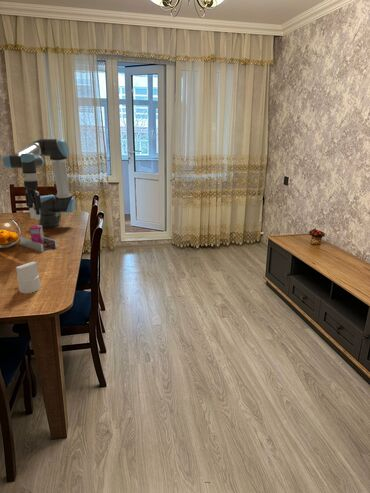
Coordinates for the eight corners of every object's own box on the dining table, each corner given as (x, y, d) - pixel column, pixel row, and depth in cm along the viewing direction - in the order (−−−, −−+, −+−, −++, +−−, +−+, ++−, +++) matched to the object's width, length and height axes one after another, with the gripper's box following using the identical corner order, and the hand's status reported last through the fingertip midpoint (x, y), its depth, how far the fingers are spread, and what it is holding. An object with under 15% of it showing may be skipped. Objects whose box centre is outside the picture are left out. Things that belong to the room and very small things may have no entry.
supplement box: (35, 242, 216) (32, 225, 213) (44, 242, 217) (42, 225, 213) (31, 245, 211) (29, 227, 207) (41, 245, 211) (39, 227, 207)
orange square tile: (30, 245, 213) (30, 244, 213) (40, 243, 219) (40, 241, 218) (36, 248, 209) (36, 246, 209) (47, 245, 215) (46, 243, 214)
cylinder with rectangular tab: (27, 295, 153) (23, 270, 149) (15, 290, 157) (11, 265, 154) (44, 287, 160) (41, 264, 156) (32, 283, 165) (29, 260, 161)
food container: (65, 218, 287) (64, 207, 284) (60, 220, 281) (59, 208, 278) (53, 217, 291) (52, 205, 288) (48, 219, 285) (47, 207, 282)
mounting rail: (19, 246, 217) (18, 237, 215) (37, 242, 226) (36, 233, 224) (40, 254, 203) (39, 245, 201) (58, 249, 212) (57, 240, 210)
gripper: (16, 179, 203) (21, 217, 211) (32, 182, 193) (37, 222, 201) (28, 178, 209) (33, 215, 216) (45, 181, 199) (49, 220, 206)
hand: (35, 218), depth 208 cm, fingers open, 5 cm apart
